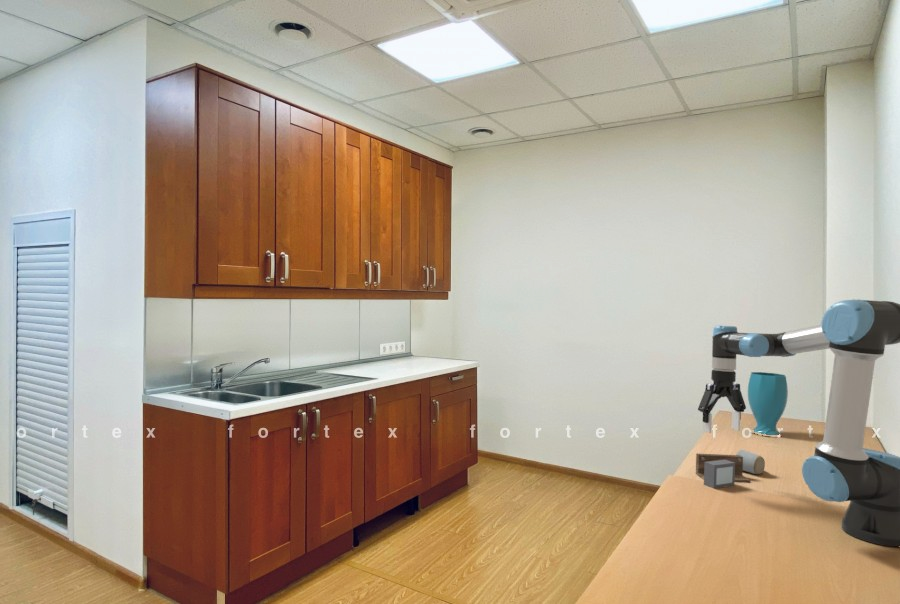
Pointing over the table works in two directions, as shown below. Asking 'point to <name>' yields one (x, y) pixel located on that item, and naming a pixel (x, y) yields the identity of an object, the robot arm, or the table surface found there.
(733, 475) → the grey box
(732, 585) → the table surface
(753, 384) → the vase
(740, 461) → the wall rail
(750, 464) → the ceramic mug
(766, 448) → the table surface
